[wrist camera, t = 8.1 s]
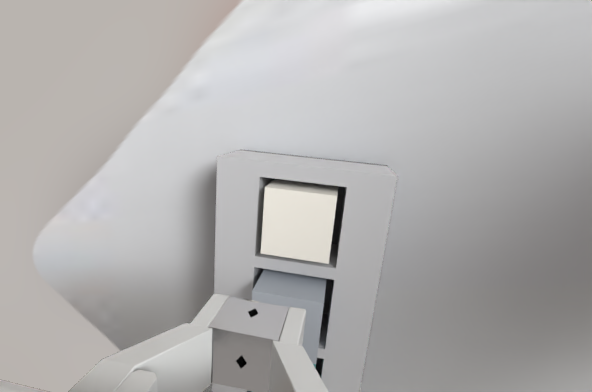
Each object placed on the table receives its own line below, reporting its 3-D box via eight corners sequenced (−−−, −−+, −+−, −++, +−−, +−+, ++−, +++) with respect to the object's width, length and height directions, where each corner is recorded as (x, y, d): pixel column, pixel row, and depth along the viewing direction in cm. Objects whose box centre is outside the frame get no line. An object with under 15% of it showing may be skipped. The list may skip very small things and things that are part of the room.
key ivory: (338, 184, 21) (337, 196, 18) (331, 242, 22) (328, 263, 19) (277, 177, 22) (264, 187, 18) (272, 234, 23) (260, 253, 19)
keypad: (387, 165, 22) (397, 176, 17) (341, 439, 28) (341, 497, 24) (241, 149, 23) (217, 156, 19) (229, 414, 30) (210, 464, 25)
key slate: (327, 274, 21) (323, 303, 18) (320, 327, 22) (316, 364, 19) (266, 264, 22) (252, 290, 18) (262, 317, 23) (248, 351, 19)
